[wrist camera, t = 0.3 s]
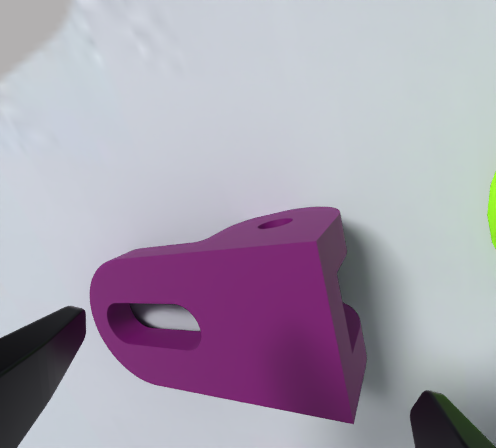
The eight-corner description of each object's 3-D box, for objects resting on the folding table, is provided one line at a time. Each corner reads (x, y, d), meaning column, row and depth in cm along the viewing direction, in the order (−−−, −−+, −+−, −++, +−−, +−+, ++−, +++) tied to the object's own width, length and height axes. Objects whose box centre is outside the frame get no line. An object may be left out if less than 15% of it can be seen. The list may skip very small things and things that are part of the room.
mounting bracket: (183, 318, 31) (373, 328, 22) (114, 376, 24) (353, 424, 15) (156, 228, 30) (351, 200, 21) (73, 262, 22) (317, 240, 14)
